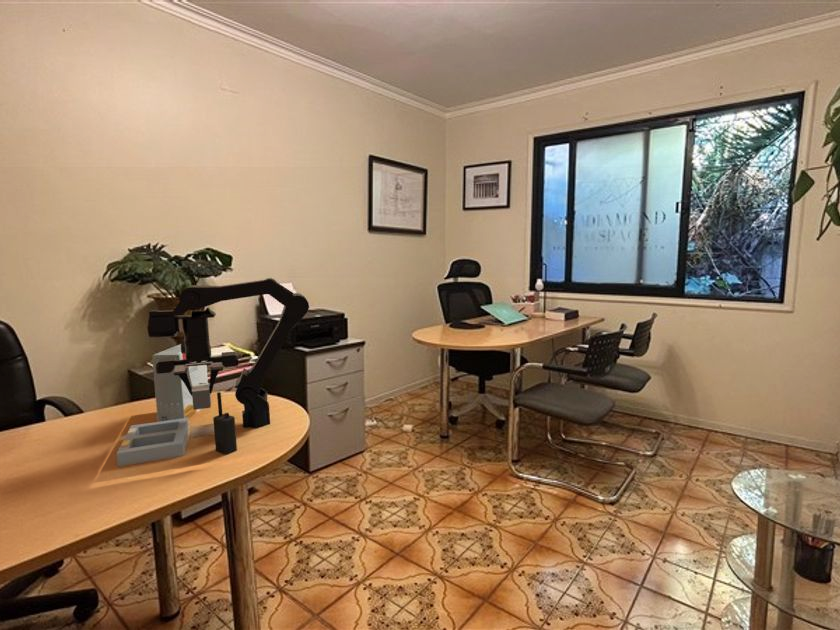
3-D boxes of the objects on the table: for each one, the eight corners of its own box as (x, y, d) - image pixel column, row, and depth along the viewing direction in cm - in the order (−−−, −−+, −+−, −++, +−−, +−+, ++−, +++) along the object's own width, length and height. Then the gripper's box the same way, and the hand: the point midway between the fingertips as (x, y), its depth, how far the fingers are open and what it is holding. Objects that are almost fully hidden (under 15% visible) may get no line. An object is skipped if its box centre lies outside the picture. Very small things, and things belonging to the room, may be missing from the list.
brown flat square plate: (220, 426, 126) (220, 422, 126) (219, 437, 118) (219, 433, 118) (191, 430, 123) (191, 426, 123) (189, 442, 116) (189, 438, 116)
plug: (211, 402, 122) (209, 383, 121) (210, 407, 118) (209, 387, 118) (194, 404, 121) (192, 384, 120) (193, 409, 117) (191, 389, 116)
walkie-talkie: (238, 453, 109) (233, 393, 107) (225, 459, 106) (220, 397, 104) (226, 449, 112) (221, 389, 109) (213, 454, 109) (208, 393, 107)
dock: (189, 431, 122) (188, 416, 121) (184, 459, 107) (182, 441, 106) (132, 440, 117) (131, 424, 116) (118, 470, 102) (116, 451, 101)
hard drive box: (184, 425, 126) (177, 355, 123) (157, 425, 126) (149, 355, 123) (210, 405, 142) (205, 342, 139) (186, 405, 142) (180, 342, 139)
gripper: (235, 327, 127) (239, 381, 130) (159, 332, 120) (164, 389, 123) (236, 334, 117) (240, 393, 120) (152, 340, 110) (158, 403, 113)
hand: (201, 394), depth 119 cm, fingers closed on plug, 4 cm apart
